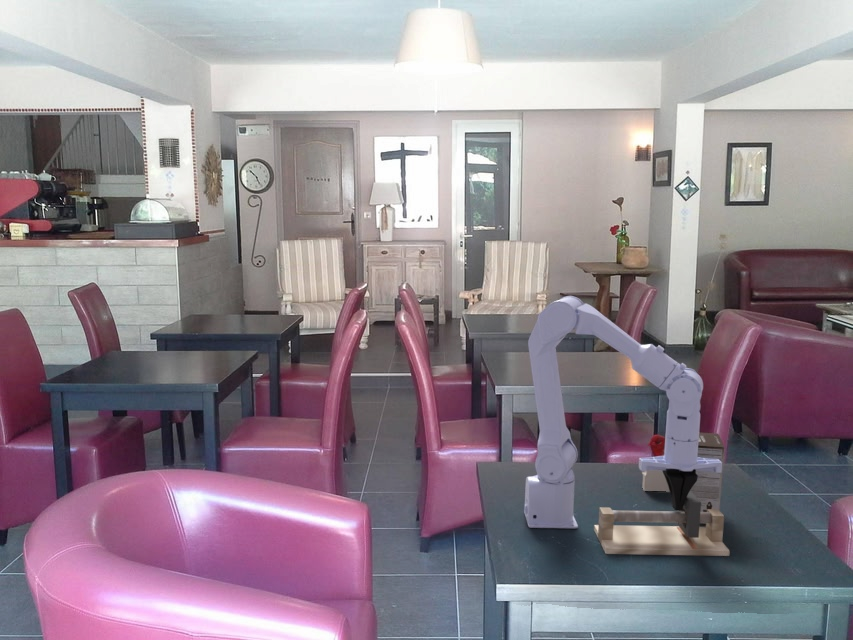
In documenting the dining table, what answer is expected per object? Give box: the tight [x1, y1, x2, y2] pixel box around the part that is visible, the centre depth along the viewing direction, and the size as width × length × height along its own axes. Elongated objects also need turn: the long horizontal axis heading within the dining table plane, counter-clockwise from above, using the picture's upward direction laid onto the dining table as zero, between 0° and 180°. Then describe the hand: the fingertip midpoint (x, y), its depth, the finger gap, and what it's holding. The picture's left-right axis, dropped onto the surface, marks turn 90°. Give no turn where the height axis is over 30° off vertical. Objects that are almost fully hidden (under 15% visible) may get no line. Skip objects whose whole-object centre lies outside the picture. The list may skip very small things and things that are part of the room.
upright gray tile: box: [677, 491, 701, 538], centre depth 139 cm, size 2×5×7 cm, turn 0°
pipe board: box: [593, 506, 730, 557], centre depth 139 cm, size 22×10×6 cm, turn 90°
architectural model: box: [641, 470, 670, 493], centre depth 166 cm, size 3×7×7 cm, turn 89°
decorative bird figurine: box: [647, 434, 665, 457], centre depth 176 cm, size 3×18×10 cm, turn 112°
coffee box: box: [690, 432, 726, 525], centre depth 151 cm, size 9×6×16 cm
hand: (677, 508), depth 139 cm, fingers closed
